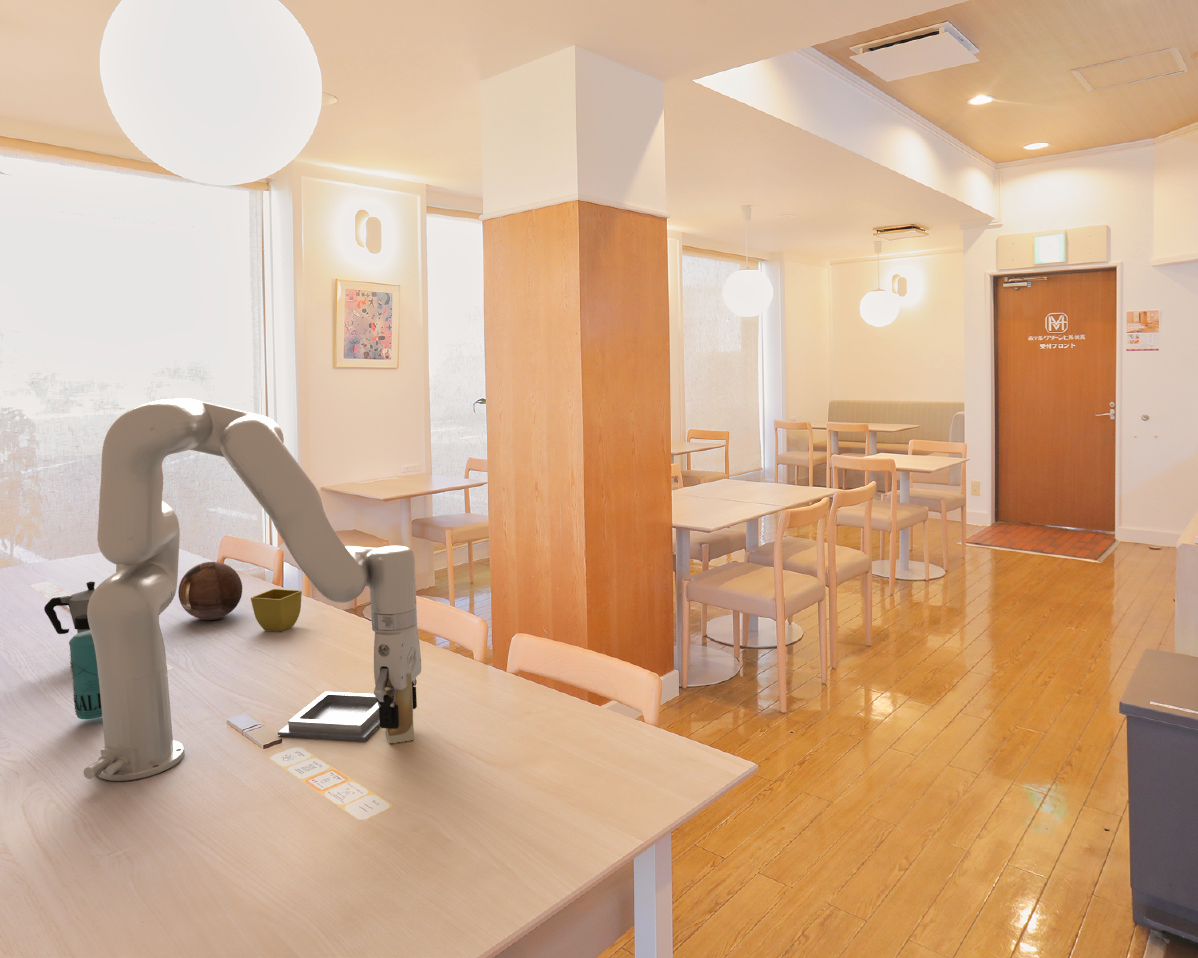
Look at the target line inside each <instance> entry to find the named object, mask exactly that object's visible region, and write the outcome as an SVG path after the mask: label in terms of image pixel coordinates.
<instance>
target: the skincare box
mask: <svg viewBox="0 0 1198 958" xmlns="http://www.w3.org/2000/svg"><path fill="white" fill-rule="evenodd" d="M407 676H408V686H407V687H406V688H405V689H403V690H402V691H399V690H398V693H397V699H396V705H398V713H399V727H398V728H397V729H389V728H384V729H385V735H386V739H387V742H388V744H389V745H391V744H390V743H394V744H398V743H397V742H400V743H405V741H406V742H411V740H413V741H414V740H415V734H414V730H415V729H414V709H413V699H412V674H411V672H409V673H408V675H407ZM386 687H393V686H392V684H391V682H390V679H389V678H388V681H387V684H386ZM385 692H386V695H389V697H390V698H391V695H392V691H385Z"/></svg>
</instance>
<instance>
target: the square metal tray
mask: <svg viewBox="0 0 1198 958" xmlns="http://www.w3.org/2000/svg"><path fill="white" fill-rule="evenodd" d="M379 726H380V718H379V707H378V702H377V700H376V697H375V695H374V693H362V692H361V693H360V692H359V693H358V692H357V693H355V692H342V691H341V692H338V691H324V692H323V693H321V694H320V695H319V696H318V697H316V699H314V700H313V701H311V702H310V703H309V704H307V706H305V707H304V708H303V709H301V710H300V711H299V712H297V713H296V714H295V715H294V716H293V717H292V718H290V719H289V720H288V721H287V724H286V725H284V727H282V728H281V729H280V730H279V731H277V736H278V735H280V736H282V737H281V738H283V737H284V738H297V739H298V738H299V739H313V740H315V739H316V740H327V741H328V740H332V741H347V742H362V743H365V742H366V741H367V740H368V739H369V738H370V737H371V736H372V735H373V734H374V733H375V732H376V731H377V730H378V729H379V728H380V727H379ZM378 727H379V728H378ZM377 728H378V729H377ZM376 729H377V730H376ZM375 730H376V731H375ZM374 731H375V732H374ZM373 732H374V733H373ZM371 734H372V735H371Z"/></svg>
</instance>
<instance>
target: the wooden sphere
mask: <svg viewBox="0 0 1198 958" xmlns="http://www.w3.org/2000/svg"><path fill="white" fill-rule="evenodd" d="M177 593H178V599H179V602H180V605H181V607H182V608H183V609H184V611H186V613H188V614H189V615H190V616H192V617H194V618H196V619H199V620H203V621H204V620H205V621H213V619H214V620H218V619H221V618H224V617H225V616H227V615H229V614H230V613H232V611H234V610H235V609H236V608H237V606H238V605H239V603H240V601H241V599H242V595H243V582H242V579H241V577H240V576H239V574H238V572H237V571H236V570H235V569H234V568H232V567H231V566H230V565H228V564H226V563H223V562H221V561H219V562H218V561H206V562H201V563H199V564H196V565H195V566H193V567H191V568H190V569H189V570H188V571H187V572H185V574H183V577H182V578H181V581H180V583H179V585H178V592H177Z"/></svg>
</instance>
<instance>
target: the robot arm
mask: <svg viewBox="0 0 1198 958" xmlns="http://www.w3.org/2000/svg"><path fill="white" fill-rule="evenodd" d="M104 437H105V438H104V440H103V443H102V451H101V464H100V467H101V469H100V470H101V472H100V487H99V502H98V505H99V506H98V523H97V545H98V548H99V551H100V553H101V554H102V556H103V557H104V558H105V559H106V560H107V561H109V562H110V563H112V564H114V565H115V567H116V568H115V573H113V574H112V575H111V576H109V577H107V578H106V579H105V580H103V581H102V582H101V583H99V584H98V586H97V587H96V588H94V589H95V590H94V592H93V594H92V595H91V597H90V600H89V603H88V609H87V616H88V623H89V627H90V631H91V634H92V638H93V642H94V646H95V652H96V659H97V669H98V677H99V687H100V698H101V709H102V717H101V718H102V729H103V737H104V738H103V740H104V746H103V747H101V748H100V757H98V759H97V761H96V762H93V763H92V764H90V765H88V766H87V767H85V768H84V770H83V776H84V777H85V778H86V779H87V780H92V779H94V778H95V777H98V778H100V779H103V780H106V781H111V782H112V781H115V782H124V781H132V780H139V779H143V778H148V777H151V776H153V775H157V774H159V773H162V772H164V771H166V770H169V769H170V768H172V767H174V766H176V765H177V764H178V763H180V761H181V760H182V759H183V758H184V756H185V746H184V744H183V743H182V742H180V741H177V740H176V739H175V740H174V739H173V738H174V737H173V727H172V726H173V724H172V714H171V713H172V712H171V702H170V701H171V699H170V687H169V675H168V665H167V664H168V663H167V656H166V653H167V652H166V647H165V642H164V637H163V636H164V635H163V633H162V629H161V626H160V615H161V614H162V613H164V611H165V610H166V609H167V608H168V607H169V606H170V605H171V603H172V602H173V600H174V598H175V596H176V592H177V589H178V588H177V587H178V580H179V579H178V576H179V555H180V554H179V553H180V540H181V539H180V536H181V533H180V532H181V531H180V522H179V519H178V516H177V514H176V512H175V511H174V509H173V508H172V507H171V505H168V504H167V503H166V502H164V501H163V490H164V474H163V462H164V459H165V458H166V457H168V456H170V455H173V454H178V453H182V452H187V451H194V452H197V453H198V452H200V453H204V454H208V455H213V456H216V457H222V458H225V460H226V462H227V463H228V465H230V467H231V468H232V470H233V471H234V472H235V473H236V475H237V476H238V478H239V479H240V480H241V481H242V482H243V484H244V485H245V487H246V488H247V489H248V491H250V492H251V494H252V495H253V497H254V499H256V501H257V502H258V503H259V504H260V506H261V508H262V509H264V512H265V513H266V514H267V515H268V516H269V518H270V520H271V521H272V523H273V525H274V528H275V530H276V531H277V533H278V534H279V536H280V538H281V539H282V542H283V543H284V545H285V546H286V548H287V550H288V551H289V553H290V555H291V556H292V558H293V559H294V561H295V562H296V564H297V565H298V567H299V568H300V569H301V571H302V572H303V573H304V574H305V576H306V578H308V580H309V581H310V582H311V583H312V585H313V586H314V588H315V589H316V590H317V591H318V592H319V593H320V594H321V595H322V597H325V598H326V599H327V600H329V601H331V602H334V603H337V604H339V603H340V604H343V603H349V602H352V601H354V600H356V599H357V598H358V597H359V596H360V595H361V594H362V593H363V592H364V590H365V589H366V587H368V588H369V590H370V591H369V594H370V610H371V611H370V614H371V629H372V631H373V632H374V642H373V643H374V645H373V676H374V677H373V678H374V685H375V686H374V688H373V689H374V690H373V694H374V695H375V697H376V700H377V702H378V707H379V718H380V727H379V728H381V729H385V728H389V729H397V728H398V727H399V713H398V705H396V699H397V693H398V690H399V691H402V690H403V689H405V688H406V687H407V686H408V676H407V675H408V673H409V672H411V674H412V699H413V710H416V709H417V708H418V701H417V686H416V685H417V678H418V676H419V675H420V674H421V672H422V656H421V655H422V654H421V644H420V638H419V637H420V636H419V629H418V613H417V611H418V609H417V607H418V606H417V589H416V588H417V587H416V586H417V585H416V564H415V563H416V562H415V560H416V558H415V554H414V551H413V550H412V549H411V548H410V547H407V546H405V545H404V546H403V545H387V546H386V545H385V546H381V547H367V546H365V547H364V546H358V545H357V546H355V545H345V544H344V543H343V541H342V540H341V539H340V537H339V536H338V535H337V533H336V532H335V530H334V528H333V527H332V525H331V523H330V522H329V519H328V517H327V515H326V512H325V510H324V505H323V502H322V499H321V496H320V493H319V491H318V489H317V488H316V485H315V484H314V483H313V482H312V480H311V479H310V478H309V476H308V475H307V473H306V472H305V471H304V470H303V468H302V467H301V466H300V465H299V463H298V462H297V460H296V458H294V456H293V455H292V454H291V452H290V450H288V448H287V447H286V445H285V444H284V442H285V440H284V433H283V431H282V429H281V427H280V426H279V424H278V423H277V422H276V421H274V420H273V419H272V418H270V417H268V416H265V415H262V414H258V413H254V412H249V411H244V410H239V409H235V408H231V407H227V406H222V405H218V404H215V403H210V402H207V401H206V402H205V401H202V400H198V399H193V398H166V399H158V400H153V401H150V402H147V403H143V404H141V405H139V406H136V407H133V408H132V409H129V410H128V411H126V412H124V413H123V414H121V415H120V416H119V417H118V418H117V419H116V420H115V421H114V422H113V423H112V425H111V426H110V427H109V429H108V431H107V432H106V435H105V436H104ZM388 678H389V679H390V682H391V684H392V686H393V687H386V684H387V681H388ZM385 691H392V695H391V698H390V697H389V695H386V692H385Z"/></svg>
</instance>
